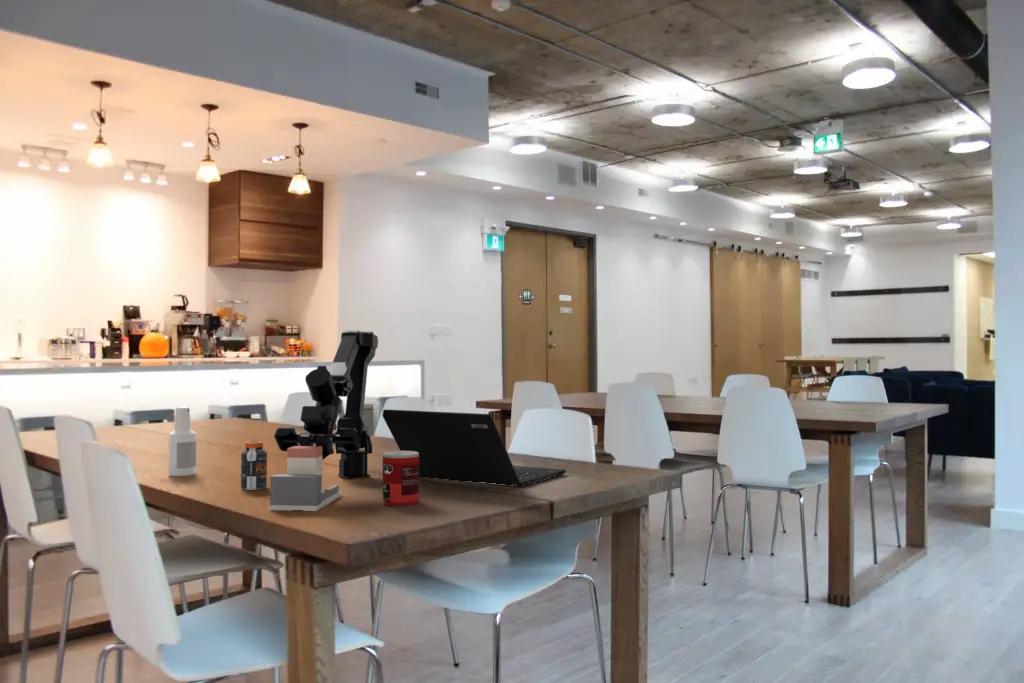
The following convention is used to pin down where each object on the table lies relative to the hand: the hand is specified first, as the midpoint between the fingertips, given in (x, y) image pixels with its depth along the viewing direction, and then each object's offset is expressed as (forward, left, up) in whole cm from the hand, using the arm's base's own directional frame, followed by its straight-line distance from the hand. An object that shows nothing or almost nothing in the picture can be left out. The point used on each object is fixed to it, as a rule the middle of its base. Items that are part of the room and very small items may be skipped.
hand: (308, 469), depth 174 cm
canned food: (-15, +14, -7) cm, 22 cm away
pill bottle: (+3, -24, -7) cm, 25 cm away
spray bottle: (+10, -56, -7) cm, 57 cm away
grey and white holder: (0, 0, -7) cm, 7 cm away
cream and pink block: (+2, +2, -6) cm, 6 cm away
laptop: (-46, 0, -8) cm, 47 cm away
